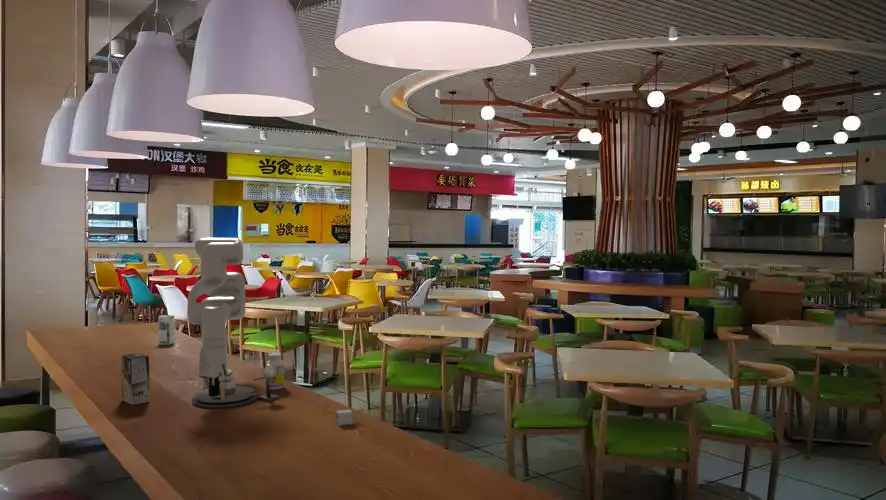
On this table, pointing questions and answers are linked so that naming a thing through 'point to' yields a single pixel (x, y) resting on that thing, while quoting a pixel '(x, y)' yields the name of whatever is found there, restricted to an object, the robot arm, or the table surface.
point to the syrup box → (166, 329)
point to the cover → (228, 385)
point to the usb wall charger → (345, 417)
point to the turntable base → (227, 405)
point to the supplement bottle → (278, 379)
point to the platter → (238, 396)
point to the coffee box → (135, 378)
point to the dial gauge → (268, 382)
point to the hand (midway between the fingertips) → (214, 395)
